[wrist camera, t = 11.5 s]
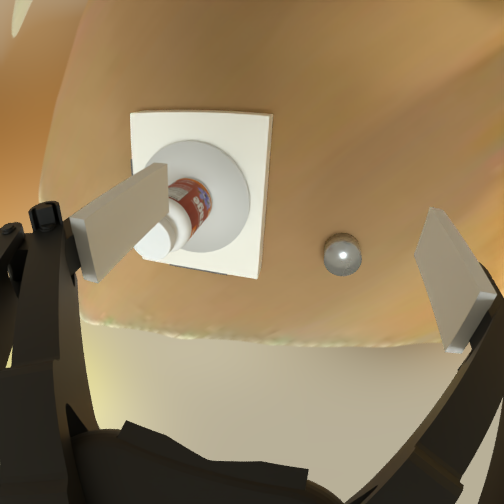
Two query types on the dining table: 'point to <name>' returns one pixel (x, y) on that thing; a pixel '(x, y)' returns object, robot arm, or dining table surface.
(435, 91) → the dining table surface
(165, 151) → the scale
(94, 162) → the dining table surface
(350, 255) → the shiny grey dome
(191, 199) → the pill bottle
